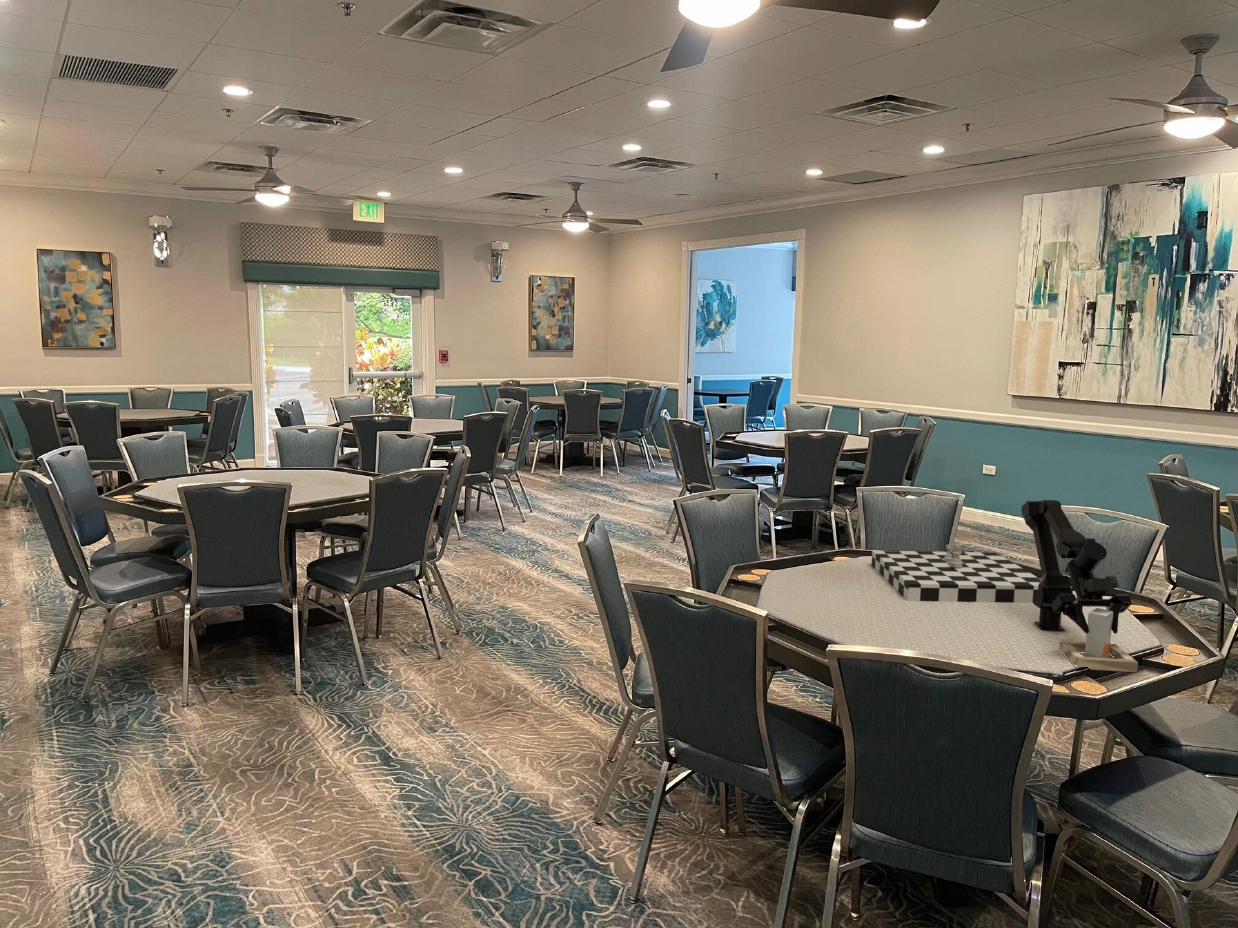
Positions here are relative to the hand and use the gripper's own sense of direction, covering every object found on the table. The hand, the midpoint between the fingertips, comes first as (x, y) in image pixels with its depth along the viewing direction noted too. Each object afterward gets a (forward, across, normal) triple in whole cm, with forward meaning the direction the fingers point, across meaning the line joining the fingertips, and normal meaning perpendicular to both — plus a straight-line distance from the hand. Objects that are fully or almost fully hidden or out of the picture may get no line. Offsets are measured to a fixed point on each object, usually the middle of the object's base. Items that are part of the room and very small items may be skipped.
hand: (1101, 632), depth 232 cm
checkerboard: (-47, -9, +60) cm, 77 cm away
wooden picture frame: (+5, 0, +6) cm, 8 cm away
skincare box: (+4, 0, +6) cm, 7 cm away
